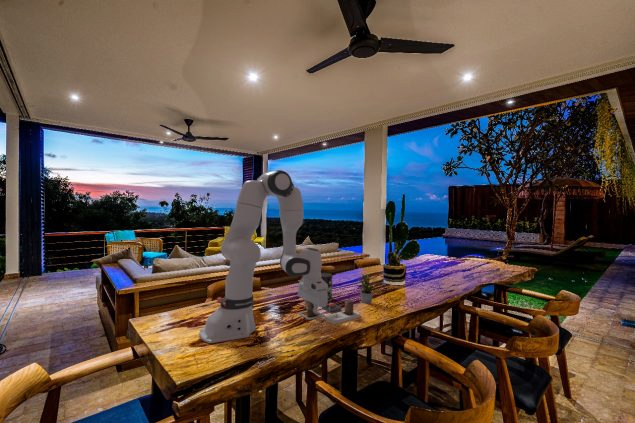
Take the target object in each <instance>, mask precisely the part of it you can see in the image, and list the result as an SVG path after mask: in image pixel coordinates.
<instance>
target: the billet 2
mask: <svg viewBox="0 0 635 423" xmlns="http://www.w3.org/2000/svg"><path fill="white" fill-rule="evenodd" d="M344 311H345V315H347V316H351V315H353V311H354V301H353V300H349V299H348V300H344Z"/></svg>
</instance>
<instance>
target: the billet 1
mask: <svg viewBox="0 0 635 423" xmlns="http://www.w3.org/2000/svg"><path fill="white" fill-rule="evenodd" d="M312 309H314V304H313V303H311V302H309V301H307V309H306V311H307V313H306V317H309V318H312V317H316V314H317V313H313V312H312Z"/></svg>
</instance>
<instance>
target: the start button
mask: <svg viewBox="0 0 635 423" xmlns="http://www.w3.org/2000/svg"><path fill="white" fill-rule="evenodd" d="M328 304H329V307H330V308H333V307H334V304H335V303H334V302H329V303H328Z"/></svg>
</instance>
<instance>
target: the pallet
mask: <svg viewBox="0 0 635 423" xmlns="http://www.w3.org/2000/svg"><path fill="white" fill-rule="evenodd" d="M358 318H361V313H359V312H357V311H355V310H353V315H351V316H347V315H345V310H343V311H342V310H341V311H339V312H338V311H337V312H335V313H334V312H333V313H329V314H327V315H325V316H323V320H325V321H326V322H328V323H330V324H333V325H337V324H340V323H341V324H342V323H344V322H347V321H351V320H355V319H358Z"/></svg>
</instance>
